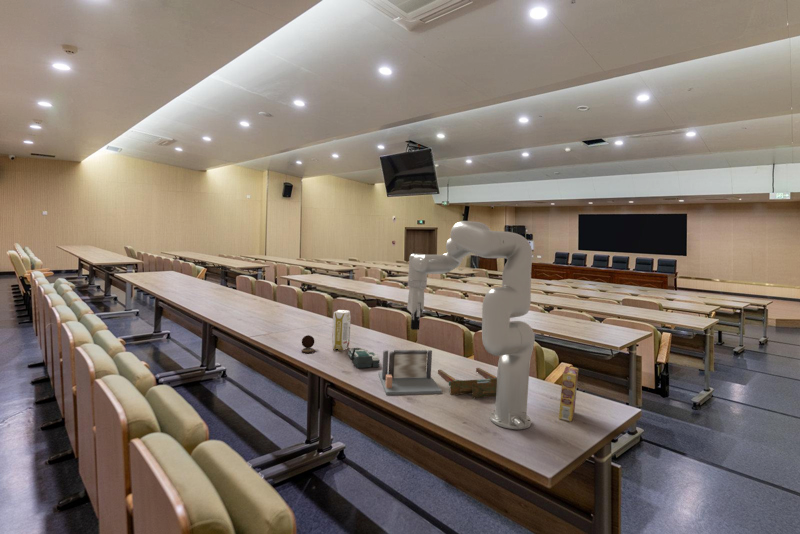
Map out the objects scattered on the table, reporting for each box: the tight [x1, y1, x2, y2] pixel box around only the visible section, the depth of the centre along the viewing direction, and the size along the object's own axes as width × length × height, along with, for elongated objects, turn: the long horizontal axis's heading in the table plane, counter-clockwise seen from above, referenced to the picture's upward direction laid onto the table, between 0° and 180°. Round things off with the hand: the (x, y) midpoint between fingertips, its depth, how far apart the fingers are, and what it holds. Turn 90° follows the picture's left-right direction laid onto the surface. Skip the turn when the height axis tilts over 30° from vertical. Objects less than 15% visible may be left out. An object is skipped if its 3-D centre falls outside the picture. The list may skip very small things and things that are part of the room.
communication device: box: [347, 347, 381, 369], centre depth 184 cm, size 12×24×9 cm, turn 17°
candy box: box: [558, 366, 579, 422], centre depth 132 cm, size 9×4×15 cm, turn 151°
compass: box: [301, 334, 319, 354], centre depth 195 cm, size 8×8×7 cm
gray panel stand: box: [378, 349, 443, 396], centre depth 156 cm, size 22×20×12 cm
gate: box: [388, 349, 428, 378], centre depth 159 cm, size 15×2×11 cm, turn 100°
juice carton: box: [331, 309, 352, 351], centre depth 202 cm, size 8×9×19 cm
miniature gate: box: [437, 367, 497, 399], centre depth 158 cm, size 27×6×30 cm
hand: (414, 329), depth 164 cm, fingers closed
